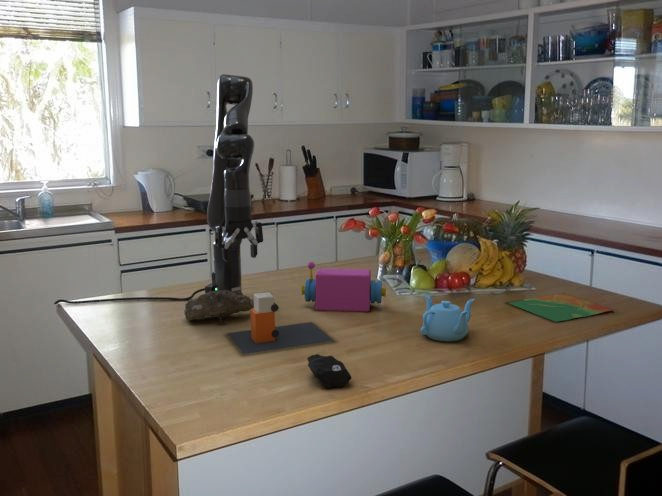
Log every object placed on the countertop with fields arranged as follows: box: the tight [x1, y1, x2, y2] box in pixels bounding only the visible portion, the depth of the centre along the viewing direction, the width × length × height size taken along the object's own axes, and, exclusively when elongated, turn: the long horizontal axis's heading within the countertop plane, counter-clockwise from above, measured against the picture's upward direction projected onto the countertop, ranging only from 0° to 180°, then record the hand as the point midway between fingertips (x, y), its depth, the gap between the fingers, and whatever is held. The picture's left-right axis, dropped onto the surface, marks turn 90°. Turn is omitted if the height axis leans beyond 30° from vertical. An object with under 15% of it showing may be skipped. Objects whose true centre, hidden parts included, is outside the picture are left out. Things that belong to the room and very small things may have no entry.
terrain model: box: [508, 292, 615, 323], centre depth 218 cm, size 25×22×1 cm
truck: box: [249, 291, 280, 343], centre depth 185 cm, size 7×5×13 cm
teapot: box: [420, 293, 476, 342], centre depth 190 cm, size 15×15×10 cm
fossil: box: [183, 290, 254, 324], centre depth 203 cm, size 22×10×15 cm
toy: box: [301, 261, 387, 313], centre depth 217 cm, size 28×9×15 cm, turn 85°
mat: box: [227, 321, 335, 355], centre depth 188 cm, size 26×18×1 cm
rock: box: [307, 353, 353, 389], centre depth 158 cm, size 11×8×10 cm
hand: (240, 259), depth 193 cm, fingers open, 8 cm apart
